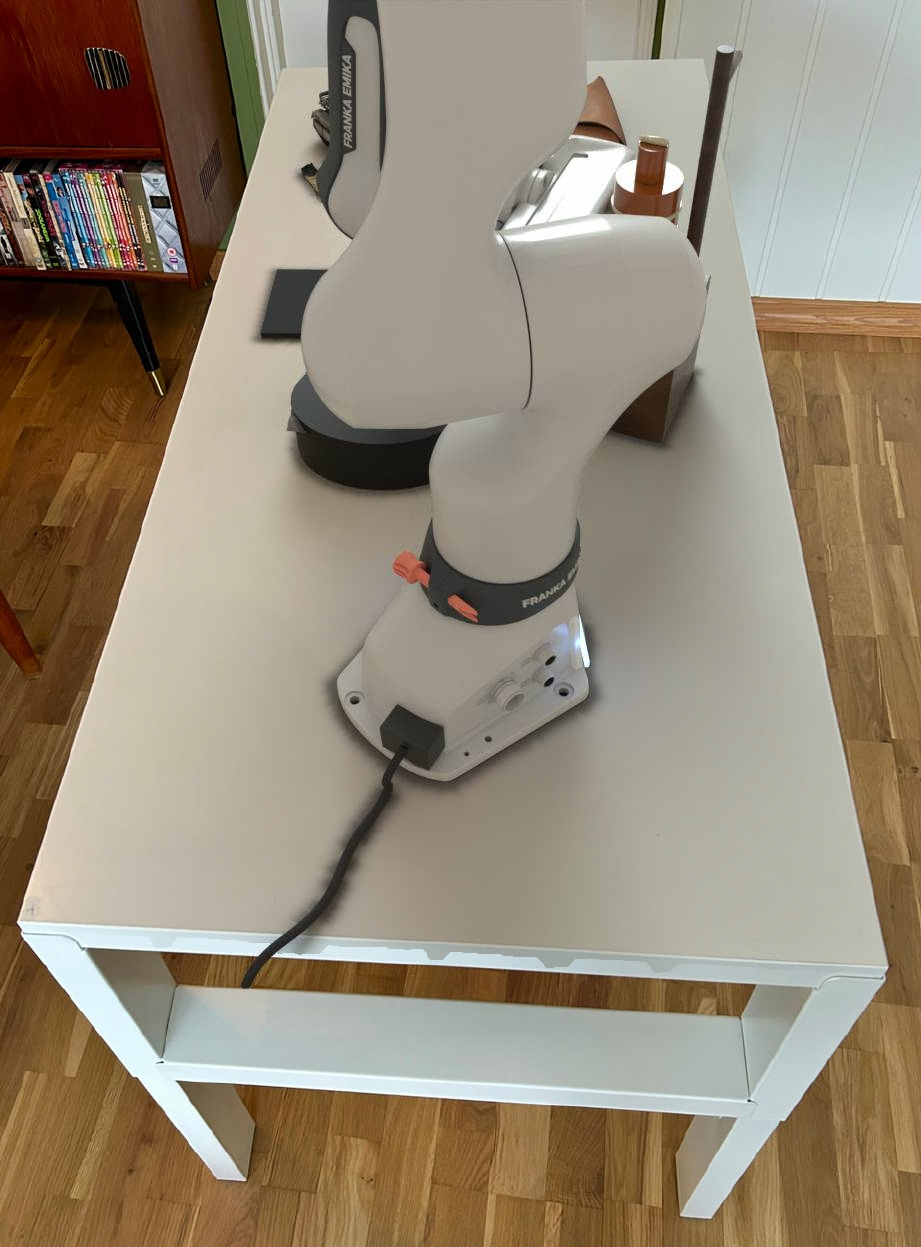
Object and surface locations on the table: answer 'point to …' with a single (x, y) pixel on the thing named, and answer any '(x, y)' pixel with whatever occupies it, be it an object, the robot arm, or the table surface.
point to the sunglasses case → (600, 115)
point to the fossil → (310, 174)
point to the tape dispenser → (358, 446)
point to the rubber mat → (289, 301)
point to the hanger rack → (663, 396)
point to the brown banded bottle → (649, 183)
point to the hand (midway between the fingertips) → (652, 229)
